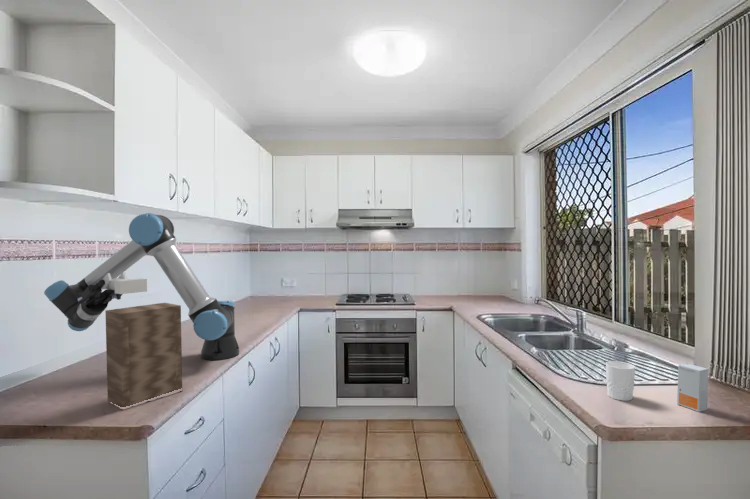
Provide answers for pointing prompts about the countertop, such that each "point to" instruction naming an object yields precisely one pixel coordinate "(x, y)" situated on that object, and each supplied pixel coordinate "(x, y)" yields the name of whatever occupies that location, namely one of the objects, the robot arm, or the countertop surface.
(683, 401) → the skincare box
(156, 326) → the open wooden box
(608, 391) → the white cup
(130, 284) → the knob
